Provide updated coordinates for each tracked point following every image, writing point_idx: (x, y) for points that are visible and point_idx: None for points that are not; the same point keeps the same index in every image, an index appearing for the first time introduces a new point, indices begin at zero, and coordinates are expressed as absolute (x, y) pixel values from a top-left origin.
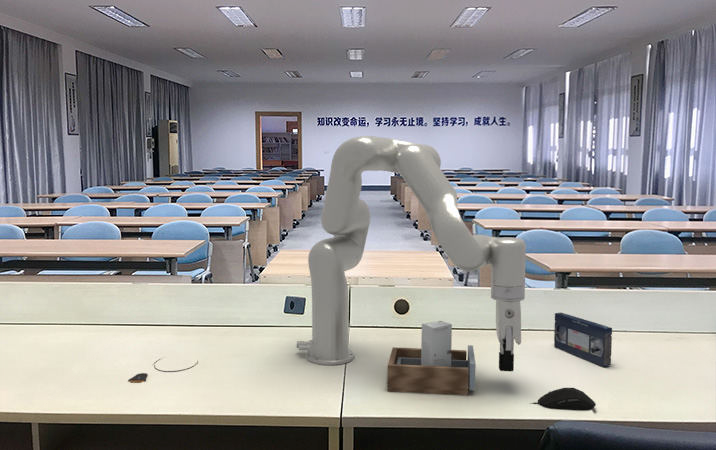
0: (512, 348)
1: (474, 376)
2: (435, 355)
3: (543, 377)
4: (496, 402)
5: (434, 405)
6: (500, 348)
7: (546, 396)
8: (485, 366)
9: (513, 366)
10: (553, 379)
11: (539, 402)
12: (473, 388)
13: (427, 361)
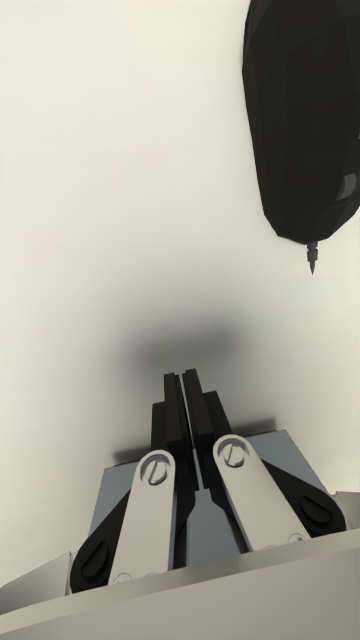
0: (325, 501)
1: (313, 472)
2: None
3: (7, 229)
4: (314, 362)
5: (343, 470)
6: (188, 528)
7: (343, 206)
8: (4, 437)
9: (197, 380)
10: (9, 179)
11: (328, 237)
12: (288, 437)
13: None
